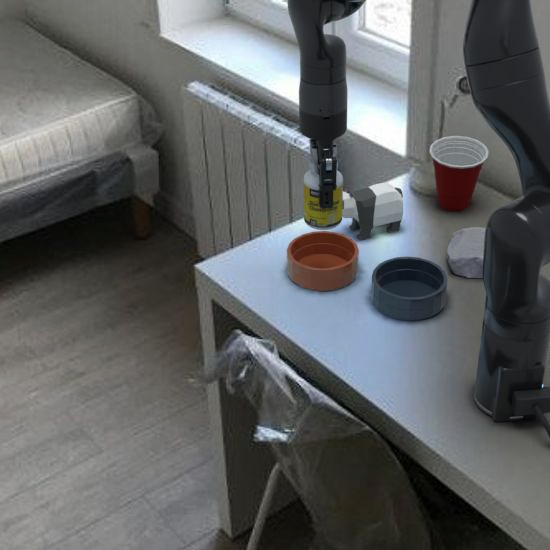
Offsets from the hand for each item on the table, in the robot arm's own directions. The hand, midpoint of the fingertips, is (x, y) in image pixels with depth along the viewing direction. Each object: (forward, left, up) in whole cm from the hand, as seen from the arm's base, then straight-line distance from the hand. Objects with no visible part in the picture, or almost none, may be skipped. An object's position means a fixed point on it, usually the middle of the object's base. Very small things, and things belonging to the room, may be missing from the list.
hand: (323, 196), depth 160 cm
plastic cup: (+19, -28, -15) cm, 37 cm away
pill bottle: (0, 0, -5) cm, 5 cm away
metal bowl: (-10, -13, -15) cm, 22 cm away
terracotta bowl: (0, 0, -15) cm, 15 cm away
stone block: (0, -27, -15) cm, 31 cm away
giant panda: (+12, -10, -15) cm, 22 cm away
